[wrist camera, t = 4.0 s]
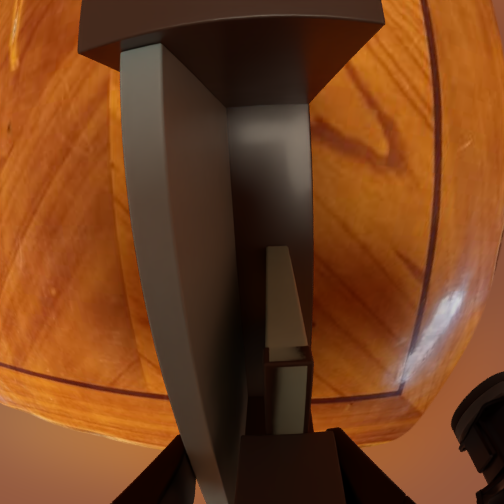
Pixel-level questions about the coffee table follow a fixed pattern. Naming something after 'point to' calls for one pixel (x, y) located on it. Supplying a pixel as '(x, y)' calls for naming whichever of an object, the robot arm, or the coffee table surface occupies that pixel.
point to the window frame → (220, 186)
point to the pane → (287, 409)
